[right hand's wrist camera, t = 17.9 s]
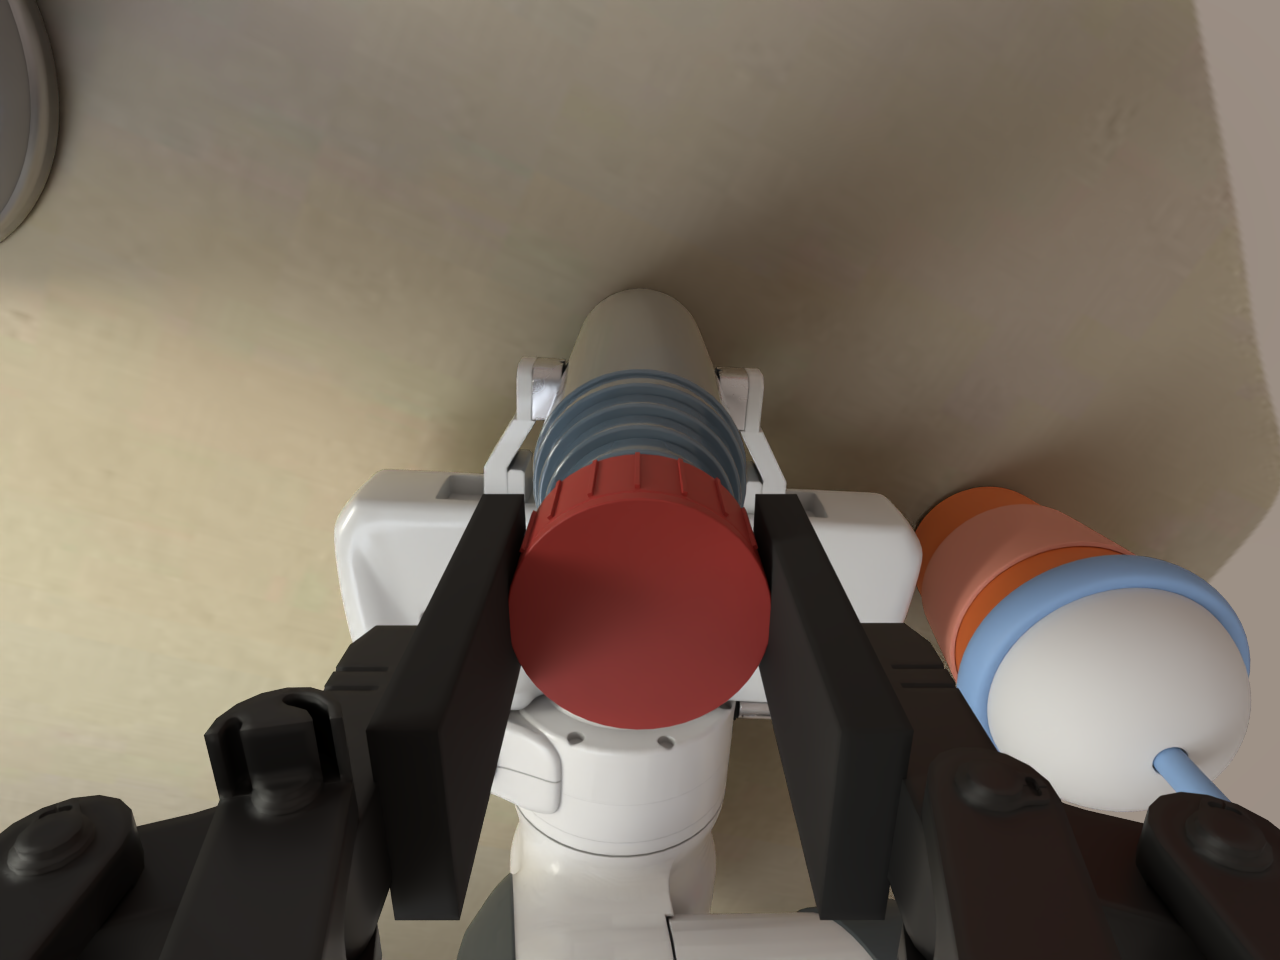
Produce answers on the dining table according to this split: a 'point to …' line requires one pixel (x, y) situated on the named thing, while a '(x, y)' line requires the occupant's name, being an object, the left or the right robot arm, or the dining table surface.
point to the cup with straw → (1084, 651)
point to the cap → (639, 594)
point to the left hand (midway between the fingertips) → (639, 365)
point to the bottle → (639, 396)
